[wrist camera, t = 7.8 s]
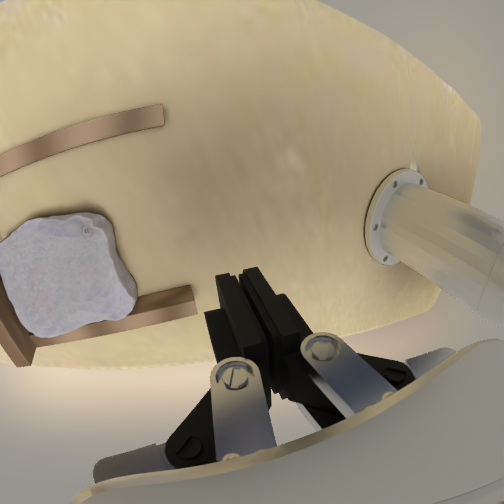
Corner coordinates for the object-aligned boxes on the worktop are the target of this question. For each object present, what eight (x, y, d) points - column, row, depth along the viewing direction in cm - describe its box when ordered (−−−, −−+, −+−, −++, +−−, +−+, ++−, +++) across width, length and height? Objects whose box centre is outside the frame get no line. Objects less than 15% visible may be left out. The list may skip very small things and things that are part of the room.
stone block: (7, 231, 17) (42, 325, 20) (-18, 240, 13) (27, 350, 16) (111, 191, 21) (142, 296, 24) (101, 191, 16) (141, 320, 19)
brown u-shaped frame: (161, 107, 17) (163, 99, 13) (193, 298, 25) (204, 332, 21) (-32, 176, 12) (-63, 190, 8) (28, 333, 20) (16, 367, 15)
